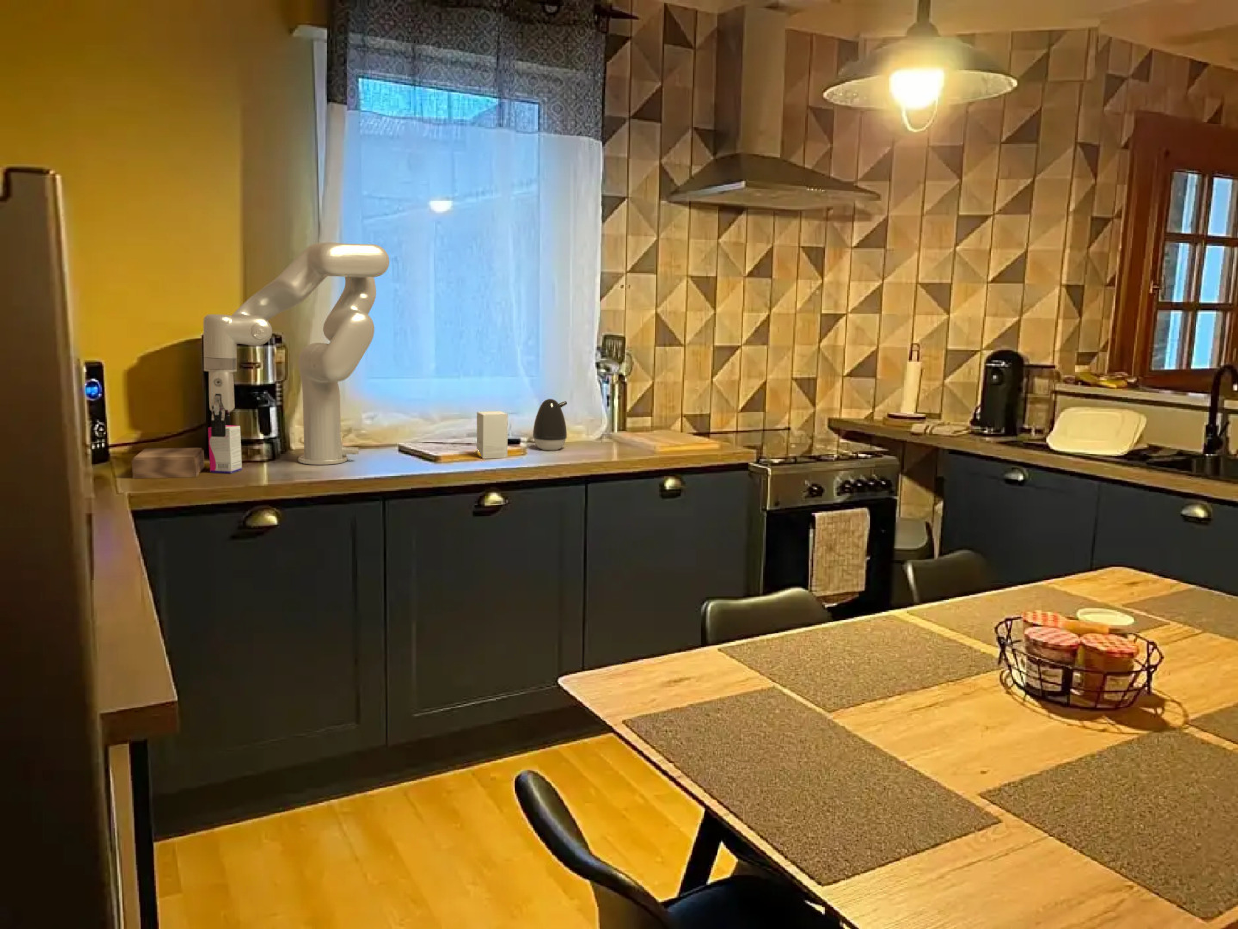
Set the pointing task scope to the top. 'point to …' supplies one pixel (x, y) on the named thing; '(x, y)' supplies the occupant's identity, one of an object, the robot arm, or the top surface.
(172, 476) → the block
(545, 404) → the pump dispenser
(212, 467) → the supplement box
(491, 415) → the supplement box
